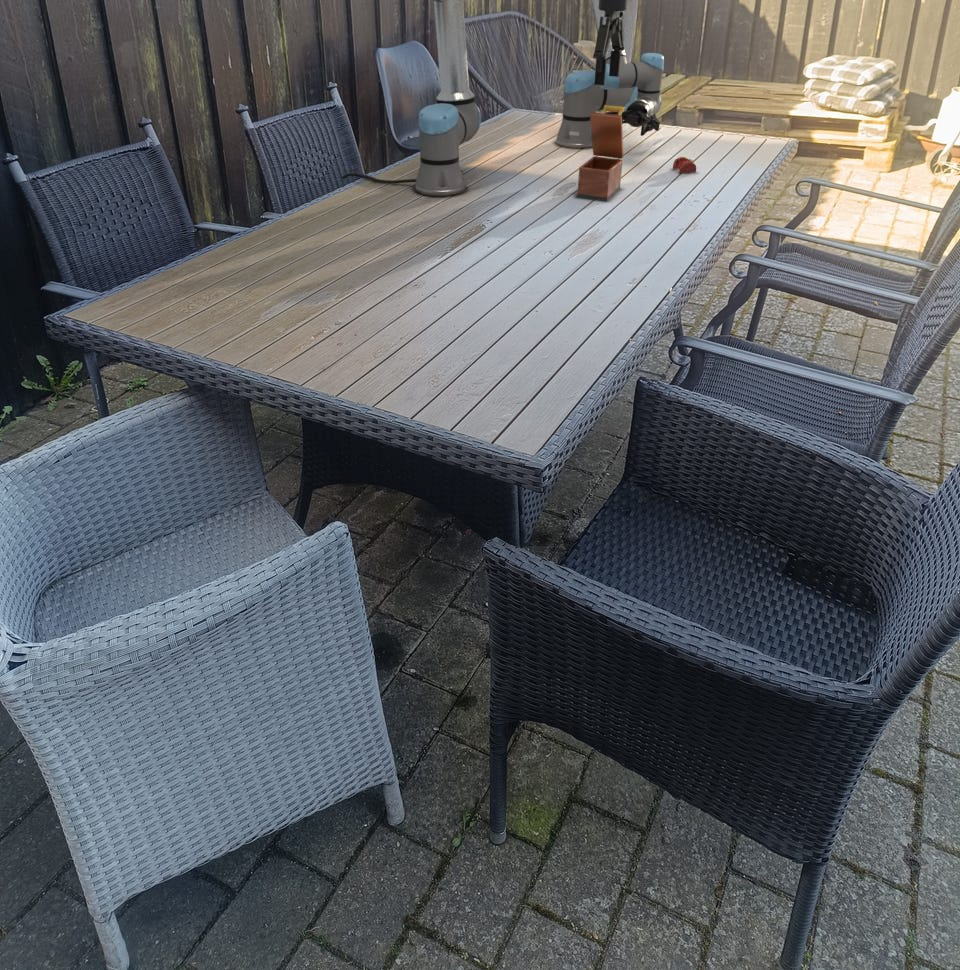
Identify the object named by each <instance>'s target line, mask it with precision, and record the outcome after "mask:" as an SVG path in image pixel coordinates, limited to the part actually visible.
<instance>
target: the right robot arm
mask: <svg viewBox="0 0 960 970" xmlns="http://www.w3.org/2000/svg"><path fill="white" fill-rule="evenodd" d="M590 1H591V7H592V12H593V17H594V23H595V30H596V34H597V35H598V31H599V26H600V17H601V16H602V17H604V16H605V11H601V10H599V0H590ZM638 4H639V0H627V9H626V10H625V11H622V12H623V35H624V46H623V47H624V51H621V57H620V68H619V77H613V76H609V69H610V57H611V51H614V50H612V43H611V39H610V43H609V46H608V50H607V54H606V58H605V59H607V61H606V74H605V85H594V83H595V70H594V69H586V70H585V69H583V70H577V71H573V72H570V73H569V74H567V76H566V77H565V78H564V86H563V103H562V120H561V123H560V126H559V129H558V132H557V135H556V140H555V143H556V144H557V145H558V146H561V147H564V148H571V149H589V148H593V146H592V133H591V120H590V114H591V112H592V113H597V112H599V111H600V112H601V111H603V110H604V105H607V106H618V107H624V109H625V110H624V112H623V113H622V114H621V115H622V125H623V124H624V125H625V124H628V125H629V126H630V127H633V128H640V127H641V128H640V137H643V136H645V135H646V134H647V133H648V132H652V131H653V130H654V131H656V132H659V131H660V125H661V121H660V120H659V119H658V117H657V114H658V112H659V110H660V108H661V107H662V97H661V87H662V80H663V76H664V75H663V74H664V71H665V69H664V68H665V56H664V55H663V54H661V53H656V52H646V53H643V54H642V55H641V57H640V61H632V55H633V48H634V47H633V46H634V39H635V29H636V21H637V12H638ZM618 113H619V112H611V111H606V112H605V114H613V115H618Z"/></svg>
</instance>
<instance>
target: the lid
mask: <svg viewBox="0 0 960 970" xmlns="http://www.w3.org/2000/svg"><path fill="white" fill-rule="evenodd" d="M624 111H625V108H624V107H618V106H607V105H604V110H602V112H596V113H592V112H591V114H590V120H591V133H592V146H593V147H592V156H595V157H603V158H612V159H621V160H623V158H624V138H623V134H624V133H623V124H622V115H621V114H622V113H623V112H624ZM606 112H618V115H613V114H605V113H606Z"/></svg>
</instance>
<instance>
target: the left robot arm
mask: <svg viewBox="0 0 960 970" xmlns="http://www.w3.org/2000/svg"><path fill="white" fill-rule="evenodd" d="M432 1H433V10H434V24H435V36H436V37H435V38H436V46H437V60H438V61H437V62H438V71H439V72H438V73H439V85H440V92H439V93H438V95H437V96H436V103H433V104H429V105H427V106H425V107H422V109H421V110H420V111H419V113H418V122H417V124H418V136H419V138H418V139H419V157H420V158H419V159H420V161H419V162H420V164H419V168H418V172H417V176H416V178H408V179H397V180H396V179H395V180H391V179H379V178H376V177H374V176H371V175H366V174H361V173H358V172H348V173H345V174H344V175H343V176H341V180H345V179H346V178H348V177H358V178H362V179H368V180H371V181H373V182H375V183H381V184H406V183H414V184H415V185H414V186H415V192H417V193H418V194H420V195H424V196H430V197H450V196H455V195H459V194H461V193H463V192H464V191H466V181H465V179H464V176H463V173H464V172H463V170H462V169H461V165H460V146H461V145H463V144H464V143H466V142H469V141H470V140H472V139H473V138H474V136H476V134H478V132H479V130H480V127H481V123H482V114H481V110H480V108H479V107H478V105H477V104H476V98H475V93H473V92H472V91H471V90H470V83H469V70H468V69H469V67H468V51H467V35H466V21H465V20H466V19H465V4H464V0H432ZM626 9H627V0H599V10H601V11H605V16H604V17H602V16H601V17H600V26H599V31H598V34H597V36H596V41H595V42H596V43H595V47H594V51H593V55H592V59H595V83H594V85H605V74H606V61H607V59H605V58H606V54H607V50H608V46H609V43H610V39H611V43H612V50H614V51H611V57H610V69H609V76H613V77H619V68H620V57H621V51H624V47H623V46H624V35H623V12H622V11H625V10H626Z"/></svg>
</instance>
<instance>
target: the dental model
mask: <svg viewBox="0 0 960 970" xmlns="http://www.w3.org/2000/svg"><path fill="white" fill-rule="evenodd" d="M672 170H678V173H679V174H690V173H691V174H692V173H696V172H697V165H696V163H695V161H694V160H693V159H691V158H688V157H686V156H679V157H677V158H676V159H674V161H673V164H672Z"/></svg>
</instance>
